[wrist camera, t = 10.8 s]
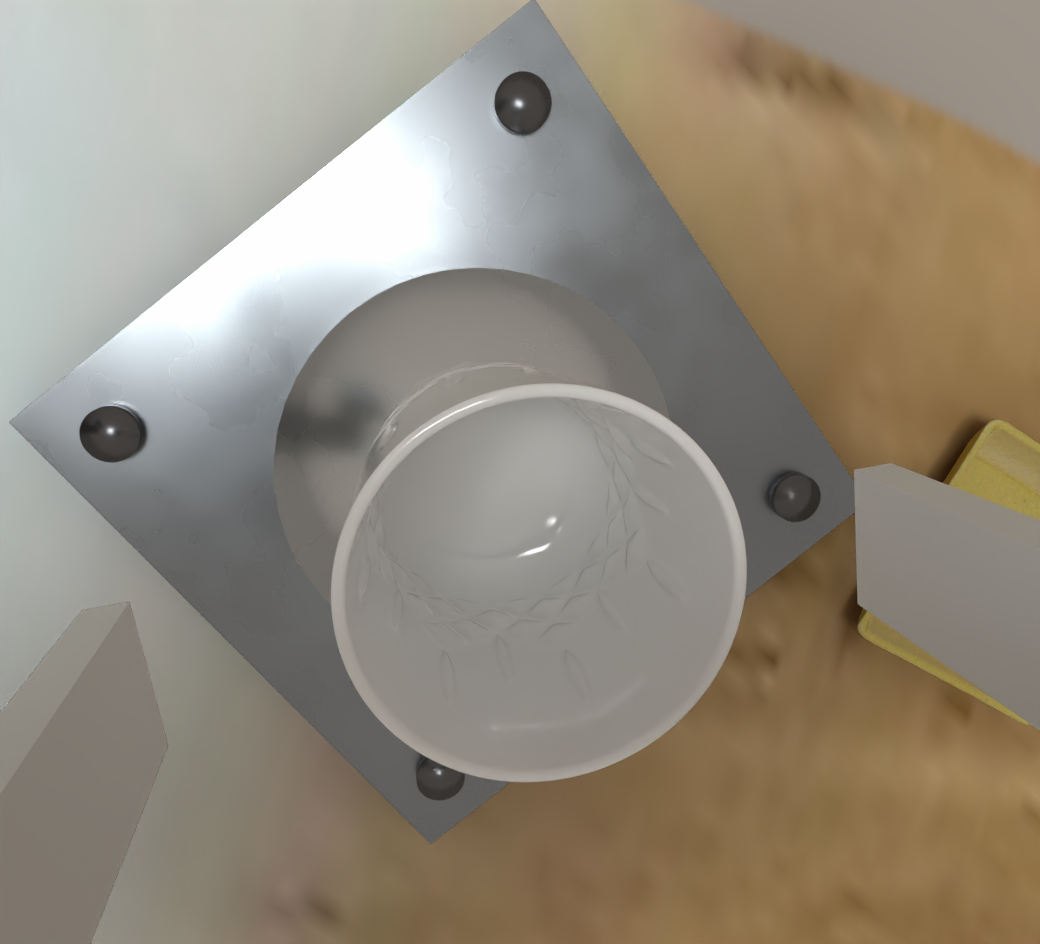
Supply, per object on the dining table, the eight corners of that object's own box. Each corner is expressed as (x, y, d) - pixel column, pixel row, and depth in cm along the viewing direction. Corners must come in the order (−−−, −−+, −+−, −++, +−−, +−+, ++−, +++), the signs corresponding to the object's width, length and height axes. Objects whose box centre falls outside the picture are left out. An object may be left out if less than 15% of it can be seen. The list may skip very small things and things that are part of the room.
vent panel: (19, 417, 25) (-10, 429, 23) (529, 6, 25) (541, -16, 23) (429, 829, 30) (433, 867, 28) (855, 496, 30) (887, 511, 28)
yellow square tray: (824, 610, 31) (854, 634, 29) (956, 404, 30) (997, 413, 28) (994, 703, 33) (1034, 731, 31) (1124, 513, 32) (1173, 529, 30)
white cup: (324, 365, 24) (286, 428, 15) (595, 317, 25) (727, 347, 15) (380, 620, 26) (378, 825, 17) (629, 567, 27) (765, 733, 17)
